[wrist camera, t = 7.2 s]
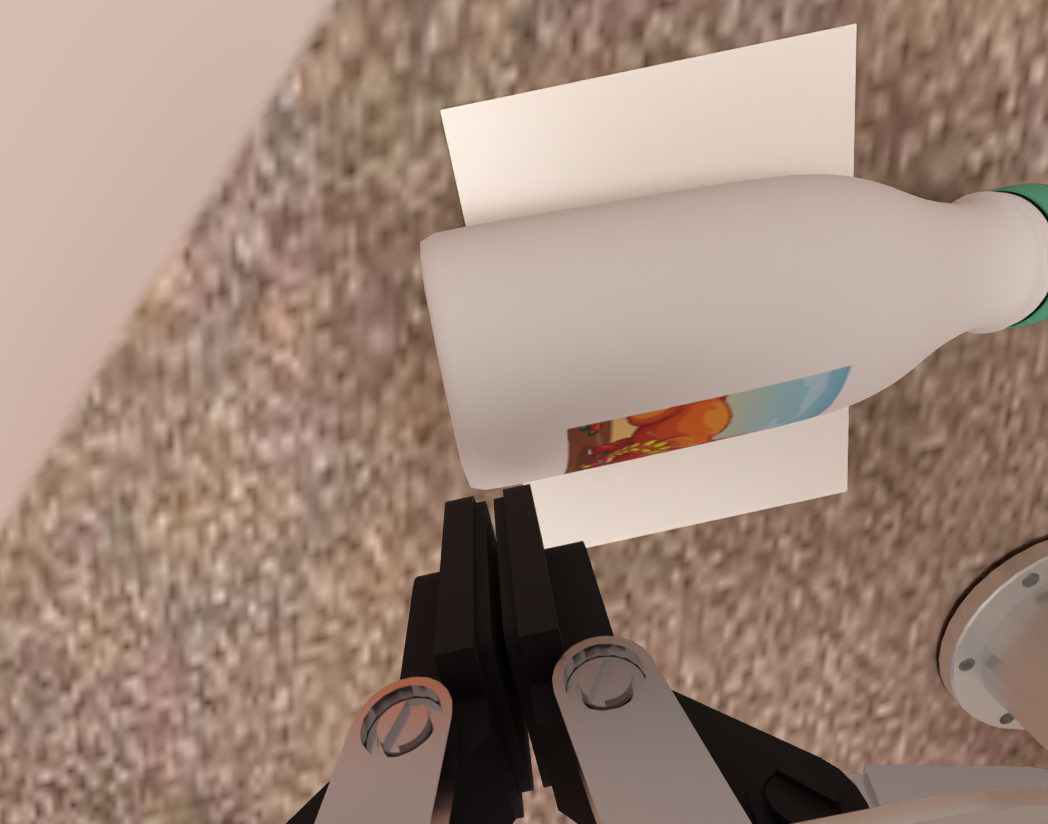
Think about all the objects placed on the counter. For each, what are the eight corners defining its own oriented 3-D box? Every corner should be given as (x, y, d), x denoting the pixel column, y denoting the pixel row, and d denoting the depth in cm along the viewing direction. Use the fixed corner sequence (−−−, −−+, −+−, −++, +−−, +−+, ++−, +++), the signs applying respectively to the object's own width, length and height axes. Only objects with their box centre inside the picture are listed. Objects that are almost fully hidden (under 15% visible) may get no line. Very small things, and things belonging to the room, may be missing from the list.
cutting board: (838, 30, 20) (856, 23, 19) (834, 480, 27) (847, 491, 26) (441, 113, 20) (440, 110, 19) (536, 545, 27) (539, 558, 26)
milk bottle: (437, 377, 12) (1253, 218, 14) (401, 181, 17) (1019, 83, 19) (476, 540, 18) (1043, 412, 20) (442, 363, 23) (906, 274, 25)
